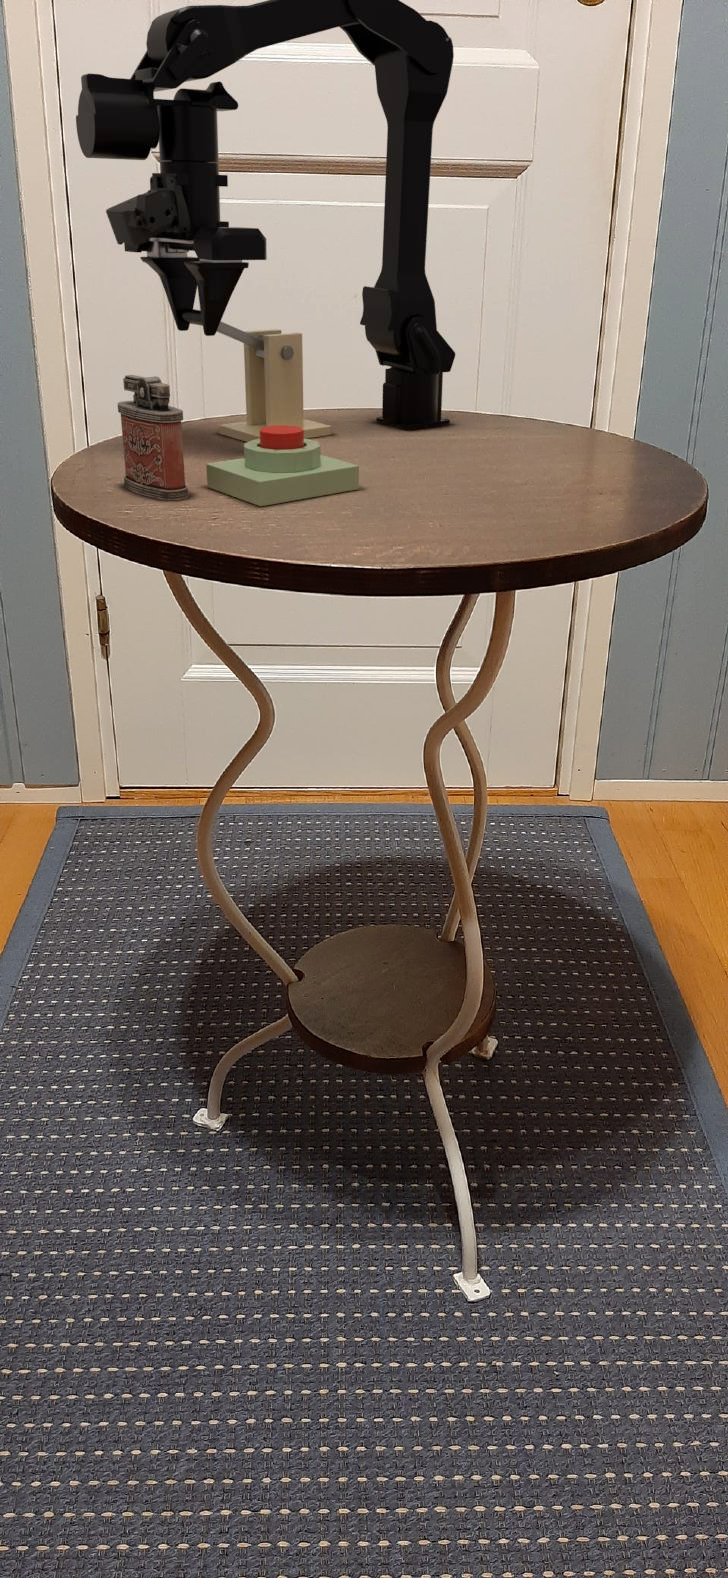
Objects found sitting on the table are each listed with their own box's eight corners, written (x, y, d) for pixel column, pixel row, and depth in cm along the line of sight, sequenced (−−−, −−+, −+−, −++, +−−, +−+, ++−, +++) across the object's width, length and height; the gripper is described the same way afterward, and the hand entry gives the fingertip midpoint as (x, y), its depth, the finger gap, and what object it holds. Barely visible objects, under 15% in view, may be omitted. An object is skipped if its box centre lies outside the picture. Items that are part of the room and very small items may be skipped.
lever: (201, 328, 117) (207, 304, 117) (176, 324, 121) (183, 301, 120) (292, 367, 125) (299, 345, 125) (267, 362, 129) (273, 341, 128)
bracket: (257, 445, 125) (254, 339, 120) (218, 433, 130) (213, 331, 125) (331, 435, 130) (331, 332, 125) (291, 424, 136) (289, 326, 131)
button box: (303, 472, 113) (302, 430, 111) (359, 489, 107) (359, 445, 105) (207, 487, 107) (204, 443, 105) (260, 506, 101) (258, 460, 99)
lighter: (196, 496, 104) (190, 380, 100) (165, 502, 102) (157, 384, 97) (146, 480, 109) (138, 370, 105) (116, 486, 107) (106, 373, 103)
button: (287, 442, 108) (287, 423, 107) (312, 449, 105) (312, 430, 104) (251, 447, 106) (251, 428, 105) (276, 455, 103) (275, 435, 102)
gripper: (71, 159, 115) (84, 327, 122) (163, 158, 102) (172, 346, 109) (169, 164, 121) (177, 323, 128) (268, 163, 108) (270, 340, 115)
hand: (196, 332), depth 120 cm, fingers closed on lever, 5 cm apart
